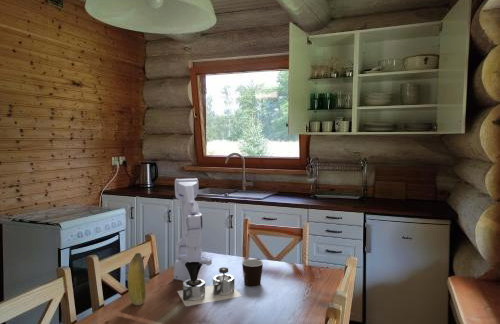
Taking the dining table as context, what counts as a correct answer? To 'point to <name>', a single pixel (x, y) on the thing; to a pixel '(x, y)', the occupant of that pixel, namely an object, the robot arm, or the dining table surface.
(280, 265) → the dining table surface
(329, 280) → the dining table surface
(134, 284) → the vegetable
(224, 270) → the cylinder
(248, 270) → the coffee mug
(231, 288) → the far pot
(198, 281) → the near plunger
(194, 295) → the near pot
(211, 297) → the serving board
